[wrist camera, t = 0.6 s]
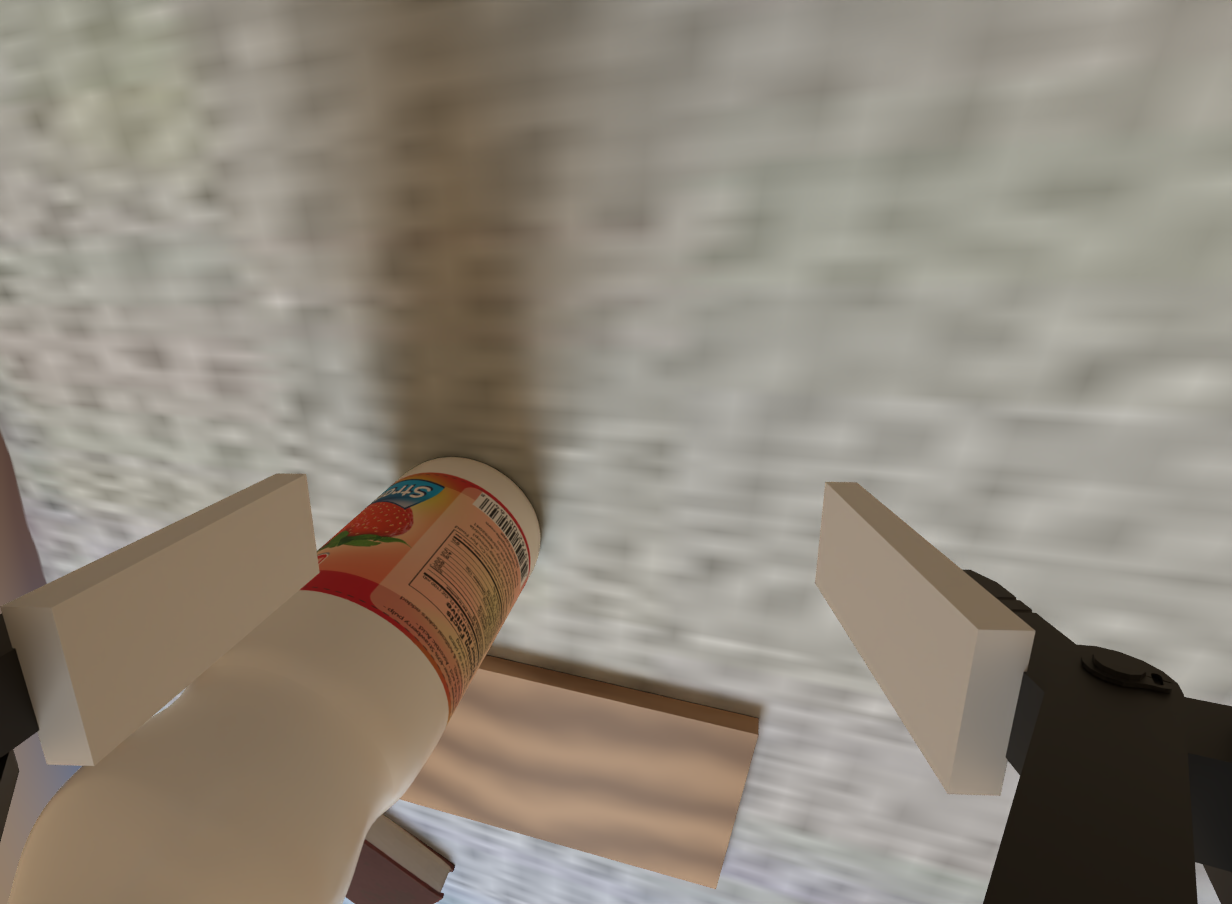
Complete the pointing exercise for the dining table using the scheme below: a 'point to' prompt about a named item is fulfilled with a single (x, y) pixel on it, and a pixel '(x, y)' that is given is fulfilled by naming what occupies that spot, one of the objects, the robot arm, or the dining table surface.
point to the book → (397, 868)
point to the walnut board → (593, 768)
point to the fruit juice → (301, 715)
